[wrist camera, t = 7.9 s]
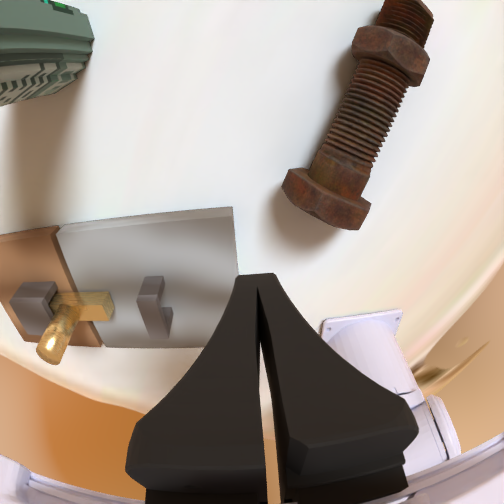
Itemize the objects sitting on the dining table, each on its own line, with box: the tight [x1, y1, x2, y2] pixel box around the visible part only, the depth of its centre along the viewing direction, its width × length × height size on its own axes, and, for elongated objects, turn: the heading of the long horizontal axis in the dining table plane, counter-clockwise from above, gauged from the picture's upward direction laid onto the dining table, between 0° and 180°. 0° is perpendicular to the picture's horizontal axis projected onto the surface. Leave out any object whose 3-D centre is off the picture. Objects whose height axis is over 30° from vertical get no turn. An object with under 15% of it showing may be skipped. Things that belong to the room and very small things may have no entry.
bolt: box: [281, 0, 434, 230], centre depth 15 cm, size 6×5×15 cm
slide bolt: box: [36, 291, 114, 365], centre depth 19 cm, size 2×9×6 cm, turn 93°
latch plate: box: [0, 207, 239, 348], centre depth 22 cm, size 12×24×4 cm, turn 93°
